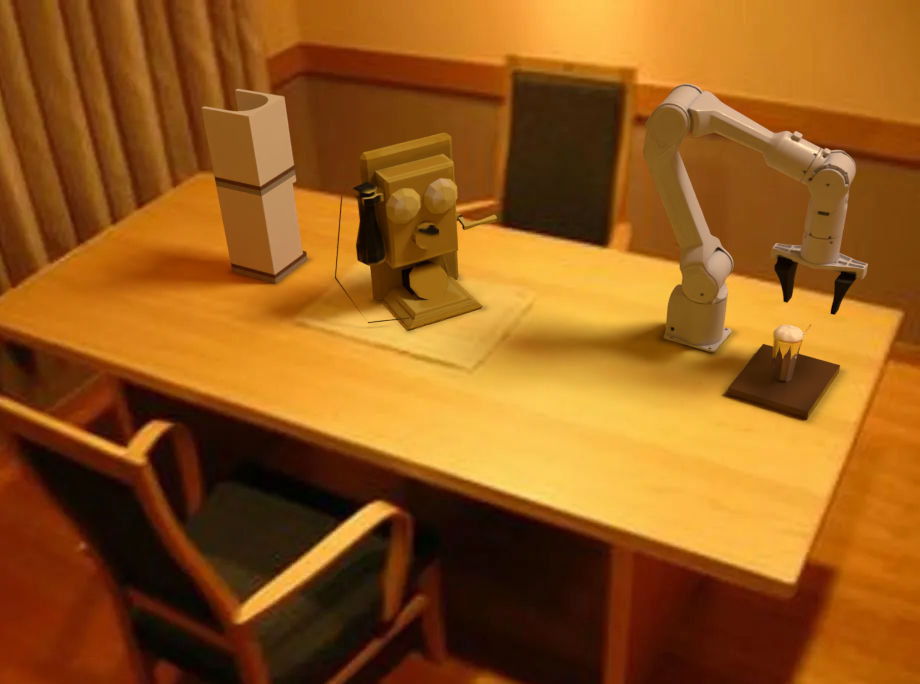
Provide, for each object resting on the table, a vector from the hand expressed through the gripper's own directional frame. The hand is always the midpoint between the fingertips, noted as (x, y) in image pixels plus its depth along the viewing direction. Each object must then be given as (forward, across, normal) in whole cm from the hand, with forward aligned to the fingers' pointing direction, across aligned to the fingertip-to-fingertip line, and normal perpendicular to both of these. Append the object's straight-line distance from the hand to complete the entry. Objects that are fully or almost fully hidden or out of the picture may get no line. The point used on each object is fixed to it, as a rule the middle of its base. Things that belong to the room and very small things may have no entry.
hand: (810, 305), depth 175 cm
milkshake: (+9, 0, +8) cm, 12 cm away
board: (+10, 0, +8) cm, 13 cm away
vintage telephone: (+11, +66, +17) cm, 69 cm away
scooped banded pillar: (+11, +103, +20) cm, 105 cm away
